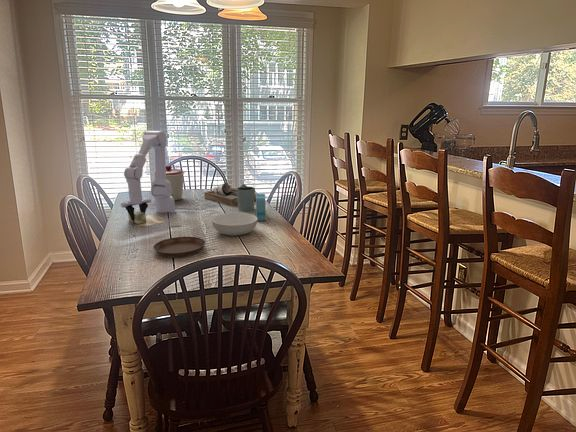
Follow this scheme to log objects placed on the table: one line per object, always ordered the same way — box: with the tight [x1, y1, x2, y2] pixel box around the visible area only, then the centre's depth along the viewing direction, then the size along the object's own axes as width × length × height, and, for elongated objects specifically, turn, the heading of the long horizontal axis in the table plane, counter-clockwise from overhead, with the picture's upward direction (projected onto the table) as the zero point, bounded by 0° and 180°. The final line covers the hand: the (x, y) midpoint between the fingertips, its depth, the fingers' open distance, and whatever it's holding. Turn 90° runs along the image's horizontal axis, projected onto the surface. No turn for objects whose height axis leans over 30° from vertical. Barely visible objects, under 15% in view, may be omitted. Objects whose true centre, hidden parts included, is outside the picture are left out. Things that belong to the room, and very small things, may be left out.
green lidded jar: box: [236, 186, 256, 212], centre depth 240 cm, size 10×10×12 cm
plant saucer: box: [153, 236, 206, 259], centre depth 178 cm, size 21×21×3 cm
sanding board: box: [125, 213, 170, 228], centre depth 216 cm, size 15×17×2 cm
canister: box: [153, 164, 185, 202], centre depth 262 cm, size 18×18×21 cm
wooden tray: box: [203, 187, 257, 207], centre depth 264 cm, size 19×27×4 cm
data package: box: [255, 193, 267, 222], centre depth 222 cm, size 12×4×12 cm, turn 4°
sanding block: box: [127, 209, 147, 226], centre depth 212 cm, size 4×9×5 cm, turn 45°
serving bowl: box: [211, 212, 258, 236], centre depth 200 cm, size 21×21×7 cm
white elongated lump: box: [213, 183, 249, 197], centre depth 263 cm, size 25×10×10 cm, turn 74°
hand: (137, 219), depth 212 cm, fingers closed on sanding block, 4 cm apart
